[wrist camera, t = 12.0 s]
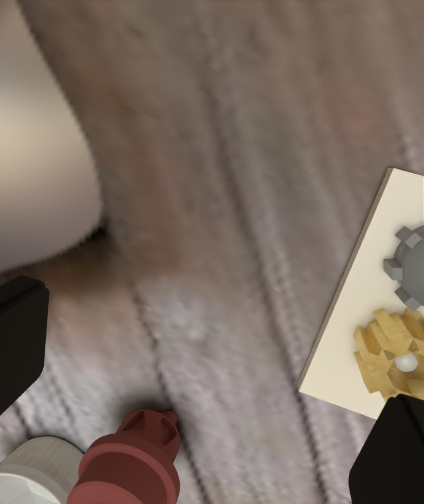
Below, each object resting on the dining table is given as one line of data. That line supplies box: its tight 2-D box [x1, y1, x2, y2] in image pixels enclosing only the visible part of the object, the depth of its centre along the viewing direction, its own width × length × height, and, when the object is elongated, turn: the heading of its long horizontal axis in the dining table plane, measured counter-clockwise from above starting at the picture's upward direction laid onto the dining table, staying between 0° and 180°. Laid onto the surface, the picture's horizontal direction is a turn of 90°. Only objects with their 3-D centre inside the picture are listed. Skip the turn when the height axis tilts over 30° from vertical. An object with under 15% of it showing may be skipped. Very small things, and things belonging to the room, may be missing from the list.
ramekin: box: [0, 436, 84, 504], centre depth 42 cm, size 13×13×7 cm
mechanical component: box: [66, 409, 180, 504], centre depth 34 cm, size 12×10×10 cm
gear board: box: [298, 168, 424, 419], centre depth 27 cm, size 22×12×7 cm, turn 165°
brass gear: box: [353, 307, 424, 404], centre depth 28 cm, size 7×7×4 cm
